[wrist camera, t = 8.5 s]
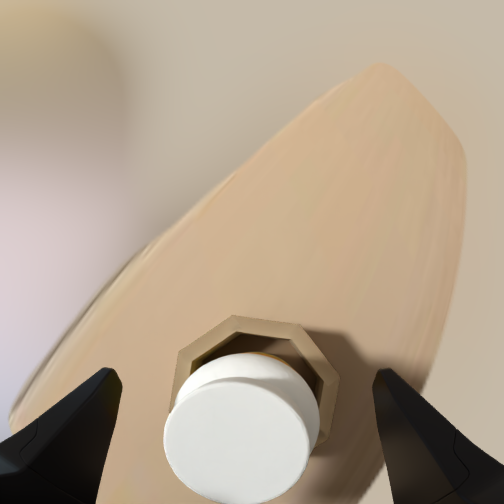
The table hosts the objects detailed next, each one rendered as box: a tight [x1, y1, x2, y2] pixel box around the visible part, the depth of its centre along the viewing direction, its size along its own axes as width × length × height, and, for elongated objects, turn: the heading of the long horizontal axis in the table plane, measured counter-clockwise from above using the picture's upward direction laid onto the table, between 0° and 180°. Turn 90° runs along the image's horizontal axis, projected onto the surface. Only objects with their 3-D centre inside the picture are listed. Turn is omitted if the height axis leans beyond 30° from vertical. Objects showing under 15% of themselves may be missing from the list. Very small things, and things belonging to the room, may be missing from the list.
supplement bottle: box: [163, 352, 320, 504], centre depth 10 cm, size 5×5×10 cm
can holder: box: [169, 315, 340, 449], centre depth 14 cm, size 8×8×3 cm
